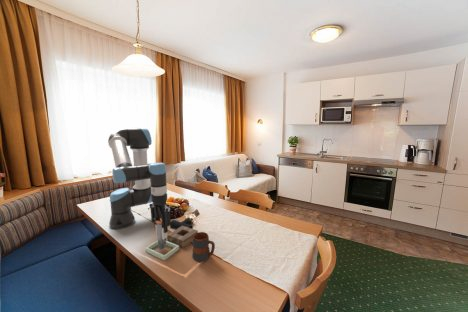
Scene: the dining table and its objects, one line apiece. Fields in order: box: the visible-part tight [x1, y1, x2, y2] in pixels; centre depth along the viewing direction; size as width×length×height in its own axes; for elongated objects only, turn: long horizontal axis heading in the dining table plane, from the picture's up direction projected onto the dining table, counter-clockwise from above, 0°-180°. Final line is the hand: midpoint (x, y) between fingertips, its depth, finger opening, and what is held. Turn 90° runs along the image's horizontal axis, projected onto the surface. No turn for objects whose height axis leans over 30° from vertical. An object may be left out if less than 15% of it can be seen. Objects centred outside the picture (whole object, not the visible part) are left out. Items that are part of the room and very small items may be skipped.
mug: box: [192, 231, 216, 263], centre depth 97 cm, size 9×12×12 cm
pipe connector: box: [169, 216, 194, 230], centre depth 127 cm, size 12×5×15 cm
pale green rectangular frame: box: [144, 240, 180, 261], centre depth 102 cm, size 14×10×3 cm
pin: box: [156, 217, 167, 250], centre depth 101 cm, size 5×5×15 cm
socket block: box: [166, 226, 199, 248], centre depth 112 cm, size 12×12×5 cm
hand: (161, 236), depth 101 cm, fingers closed on pin, 4 cm apart
